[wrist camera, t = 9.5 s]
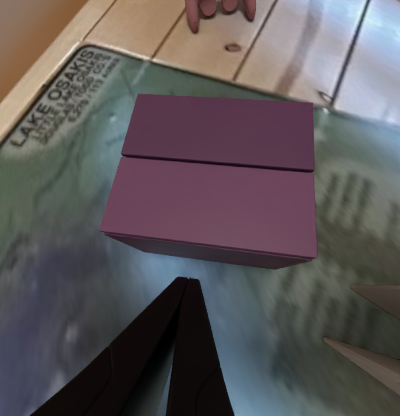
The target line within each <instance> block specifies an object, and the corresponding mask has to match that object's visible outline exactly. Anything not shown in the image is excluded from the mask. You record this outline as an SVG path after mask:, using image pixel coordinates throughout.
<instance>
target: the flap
mask: <svg viewBox="0 0 400 416" xmlns="http://www.w3.org/2000/svg"><path fill="white" fill-rule="evenodd" d="M99 231H101V232H105V233H113V234H121V235H129V236H137V237H145V238H153V239H161V240H169V241H177V242H185V243H193V244H201V245H209V246H217V247H225V248H233V249H240V250H248V251H256V252H264V253H272V254H280V255H288V256H296V257H304V258H312V259H315V258H317V237H316V214H315V190H314V173H304V172H293V171H281V170H269V169H257V168H246V167H234V166H222V165H210V164H199V163H187V162H175V161H163V160H151V159H140V158H128V157H121V159H120V163H119V166H118V169H117V172H116V176H115V179H114V182H113V186H112V189H111V192H110V196H109V199H108V202H107V205H106V209H105V212H104V215H103V219H102V222H101V225H100V229H99Z"/></svg>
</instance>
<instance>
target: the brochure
mask: <svg viewBox="0 0 400 416" xmlns="http://www.w3.org/2000/svg"><path fill="white" fill-rule="evenodd" d="M349 288H351V289H352V290H354V291H355V292H357V293H358V294H360V295H362V296H363V297H365V298H366V299H368V300H369V301H371V302H373V303H374V304H376V305H377V306H379V307H380V308H382V309H384V310H385V311H387V312H388V313H390V314H391V315H393V316H395V317H396V318H398V319H399V320H400V286H390V285H350V287H349ZM323 341H324V342H326V343H327V344H328V345H330V346H331V347H333V348H334V349H335V350H337V351H338V352H340V353H341V354H342V355H344V356H345V357H347V358H348V359H349V360H351V361H352V362H354V363H355V364H356V365H358V366H359V367H360V368H362V369H363V370H365V371H366V372H367V373H369V374H370V375H372V376H373V377H374V378H376V379H377V380H379V381H380V382H381V383H383V384H384V385H386V386H387V387H388V388H390V389H391V390H393V391H394V392H395V393H397V394H398V395H400V360H398V359H395V358H392V357H388V356H385V355H382V354H378V353H375V352H372V351H369V350H365V349H362V348H359V347H355V346H352V345H349V344H346V343H342V342H339V341H336V340H332V339H329V338H326V337H324V338H323Z"/></svg>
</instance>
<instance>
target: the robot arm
mask: <svg viewBox="0 0 400 416" xmlns="http://www.w3.org/2000/svg"><path fill="white" fill-rule="evenodd" d="M172 362H173V363H172ZM171 365H172V371H171V379H170V387H169V395H168V403H167V411H166V416H235V415H234V412H233V409H232V406H231V403H230V400H229V396H228V392H227V389H226V385H225V382H224V378H223V374H222V370H221V367H220V362H219V358H218V354H217V350H216V346H215V342H214V338H213V334H212V330H211V325H210V321H209V317H208V313H207V309H206V305H205V301H204V297H203V293H202V289H201V285H200V281H199V280H198V279H193V278H189V279H188V278H186V277H177V278H176V279H175V280H174V281H173V282H172V283H171V284H170V285H169V286H168V287H167V288H166V289H165V290H164V291H163V292H162V293H161V294H160V295H159V296H158V297H157V298H156V299H155V300H154V301H153V302H152V303H151V304H150V305H149V306H148V307H147V308H146V309H145V310H144V311H143V312H142V313H140V314H139V315H138V316H137V317H136V318H135V319H134V320H133V321H132V322H131V323H130V324H129V325H128V326H127V327H126V328H125V329H124V330H123V331H122V332H121V333H120V334H119V335H118V336H117V337H116V338H115V339H114V340H113V341H112V342H111V343H110V345H109V346H107V347H106V348H105V349H104V350H103V351H102V352H101V353H100V354H99V355H98V356H97V357H96V358H95V359H94V360H93V361H92V362H91V363H90V364H89V365H88V366H87V367H86V368H85V369H84V370H83V371H81V372H80V373H79V374H78V375H77V376H76V377H75V378H73V379H72V380H71V381H70V382H69V383H68V384H67V385H65V386H64V387H63V388H62V389H61V390H60V391H58V392H57V393H56V394H55V395H54V396H52V397H51V398H50V399H49V400H48V401H47V402H45V403H44V404H43V405H42V406H41V407H39V408H38V409H37V410H36V411H35V412H33V413H32V414H31V415H30V416H156V413H157V410H158V407H159V403H160V400H161V397H162V394H163V391H164V387H165V384H166V381H167V378H168V375H169V371H170V368H171Z"/></svg>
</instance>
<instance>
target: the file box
mask: <svg viewBox="0 0 400 416" xmlns="http://www.w3.org/2000/svg"><path fill="white" fill-rule="evenodd" d="M121 154H122V156H124V157H128V158H140V159H151V160H163V161H175V162H187V163H199V164H210V165H222V166H234V167H246V168H257V169H269V170H281V171H293V172H304V173H310V172H313V171H314V170H315V162H314V130H313V103H307V102H287V101H268V100H249V99H229V98H210V97H190V96H171V95H152V94H138V96H137V99H136V103H135V106H134V110H133V113H132V117H131V120H130V124H129V127H128V130H127V134H126V137H125V141H124V144H123V148H122V151H121ZM104 235H106V236H109V237H111V238H113V239H116V240H118V241H120V242H123V243H125V244H127V245H129V246H132V247H134V248H136V249H139V250H141V251H143V252H148V253H155V254H163V255H170V256H178V257H185V258H193V259H200V260H208V261H215V262H223V263H230V264H238V265H245V266H253V267H261V268H268V269H279V268H284V267H288V266H292V265H296V264H300V263H305V262H309V261H312V258H304V257H296V256H288V255H280V254H272V253H264V252H256V251H248V250H240V249H233V248H225V247H217V246H209V245H201V244H193V243H185V242H177V241H169V240H161V239H153V238H145V237H137V236H129V235H121V234H113V233H104Z"/></svg>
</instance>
